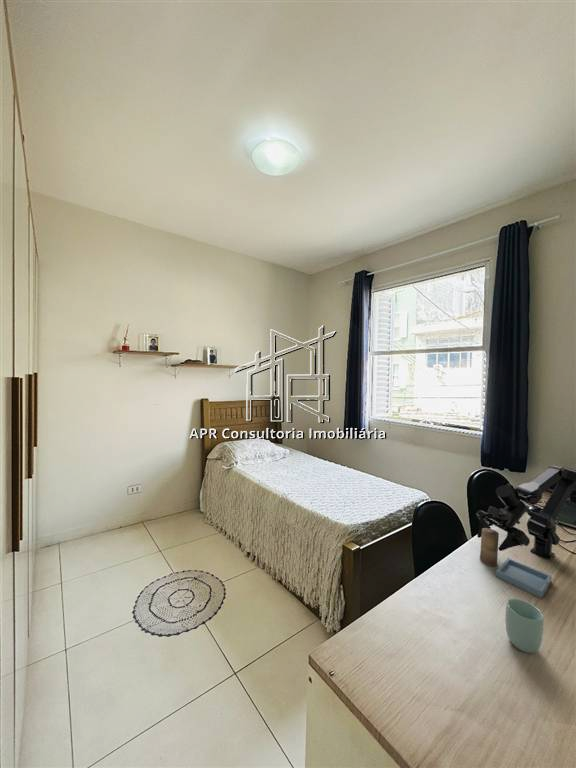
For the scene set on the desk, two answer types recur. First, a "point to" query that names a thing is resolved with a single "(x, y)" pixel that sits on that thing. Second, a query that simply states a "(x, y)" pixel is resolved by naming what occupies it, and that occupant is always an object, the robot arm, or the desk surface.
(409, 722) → the desk surface
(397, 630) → the desk surface
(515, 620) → the cup
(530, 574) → the desk tray
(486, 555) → the cup
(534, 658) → the desk surface
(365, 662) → the desk surface
